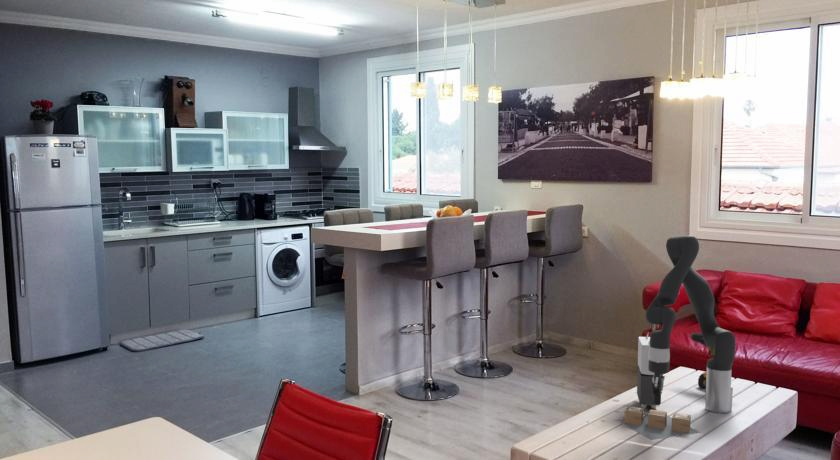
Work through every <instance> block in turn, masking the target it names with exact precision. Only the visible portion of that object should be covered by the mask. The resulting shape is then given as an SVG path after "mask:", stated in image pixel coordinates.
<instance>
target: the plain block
mask: <svg viewBox="0 0 840 460" xmlns="http://www.w3.org/2000/svg"><path fill="white" fill-rule="evenodd" d="M647 415H648V427H650V428H657V429H663V430H665V427H666V425H667V416H668V411H664V410H658V409H650V410H649V412H648V414H647Z"/></svg>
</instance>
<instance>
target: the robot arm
mask: <svg viewBox="0 0 840 460" xmlns="http://www.w3.org/2000/svg"><path fill="white" fill-rule="evenodd" d="M665 247H666V252H667V256H668V258H669V259H670V261H671V264H672V265H673V268H672V269H671V270H670V271H669V272H668V273H667V274H666V275H665V276H664V278H663V279H662V280H661V284H660V286H659V289H658V291H657V295H656V296H655V297H654V299H653V300H652V302H651V303H650V304H649V305H648V307H647V309H646V312H645V320H646V321H647V323H648V324H651V325H652V324H653V325H656V326H657V325H658V326H663V327H662V329H659V330H658V329H656V330H652V331H651V332H650V335H649V337H650V349H649V362H648V370H649V371H650V372H653V373H654V375H653V377H652V381H653V384H652V385H653V394H655V395H654V404H657V405H656V406H659V405H661V403H662V394H663V389H664V381H665V375H664V374H667V373H669V372H670V362H671V361H670V359H671V351H670V345H671V344H670V338H671V335H672V334H671V333H672V330H673V327H674V324H675V322H676V317H677V314H676V310H675V309H674V308H672V307H670V306H672V305H674V304H676V302H677V299H678V297H679V293H680V290H681V287H682V285H683V288H684V290H685V293H686V295H687V298H688V300H689V303H690V304H691V307H692V309H693V313H694V315H695V317H696V320H697V322H698V325H699V328H700V331H701V332H700V333H702V336H703V339H704V342H705V344H706V345H707V346H708V347H709V348H711V349H713V350H715V352H714V358H713V357H712V358H709V359H708V360H707V362H706V371H707V377H706V389H705V406H704V407H705V410H707V411H709V412H712V413H717V414H720V413H721V414H726V413H729V412H730V411H733V390H734V389H733V388H734V387H732V371H733V370H732V368H733V367H732V366H733V364H734V361H735V356H736V344H737V342H736V341H737V340H736V337H735V334H734V333H733V332H732V331H730V330H728V329H724V328H721V327H720V326H719V324H718V322H717V319H716V316H715V314H714V310H715V297H714V293H713V291H712V288H711V287H710V283H709V282H708V281H707V280H706V278H705V277H703V275H701V274H699V273H698V272H697V271H696V270H695V269H694V268H693V267H692V266H693V264H694V262H695V260H696V259H697V256H698V254H699V250H700V243H699V241H698V238H697V237H695V236H694V235H690V234H687V235H678V236H677V235H676V236H672V237H669V238H668V239H667V240H666V244H665ZM706 345H705V346H706Z"/></svg>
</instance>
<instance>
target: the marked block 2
mask: <svg viewBox="0 0 840 460" xmlns="http://www.w3.org/2000/svg"><path fill="white" fill-rule="evenodd" d="M671 418H672V431H676V432H683V433H689V431H690V427H691V421H692V420H691V419H692V415H691V414H686V413H678V412H673V414H672V416H671Z"/></svg>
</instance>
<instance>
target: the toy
mask: <svg viewBox="0 0 840 460" xmlns="http://www.w3.org/2000/svg"><path fill="white" fill-rule="evenodd" d="M637 341H638V342H637V345H638V346H637V376H636V379H637V380H636V395H637V398H638V401H639V404H640V408H644V409H645V408H647V406H650V408H651V409H652V410H656V409H657V406H660V405H661V404H660V405H657V404H654V395H655V394H653V385H652V384H653V381H652V377H653V375H654V373H653V372H650V371H649V370H648V362H649V349H650V336H649V331H648V332H647V334H646V336H638V340H637Z"/></svg>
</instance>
